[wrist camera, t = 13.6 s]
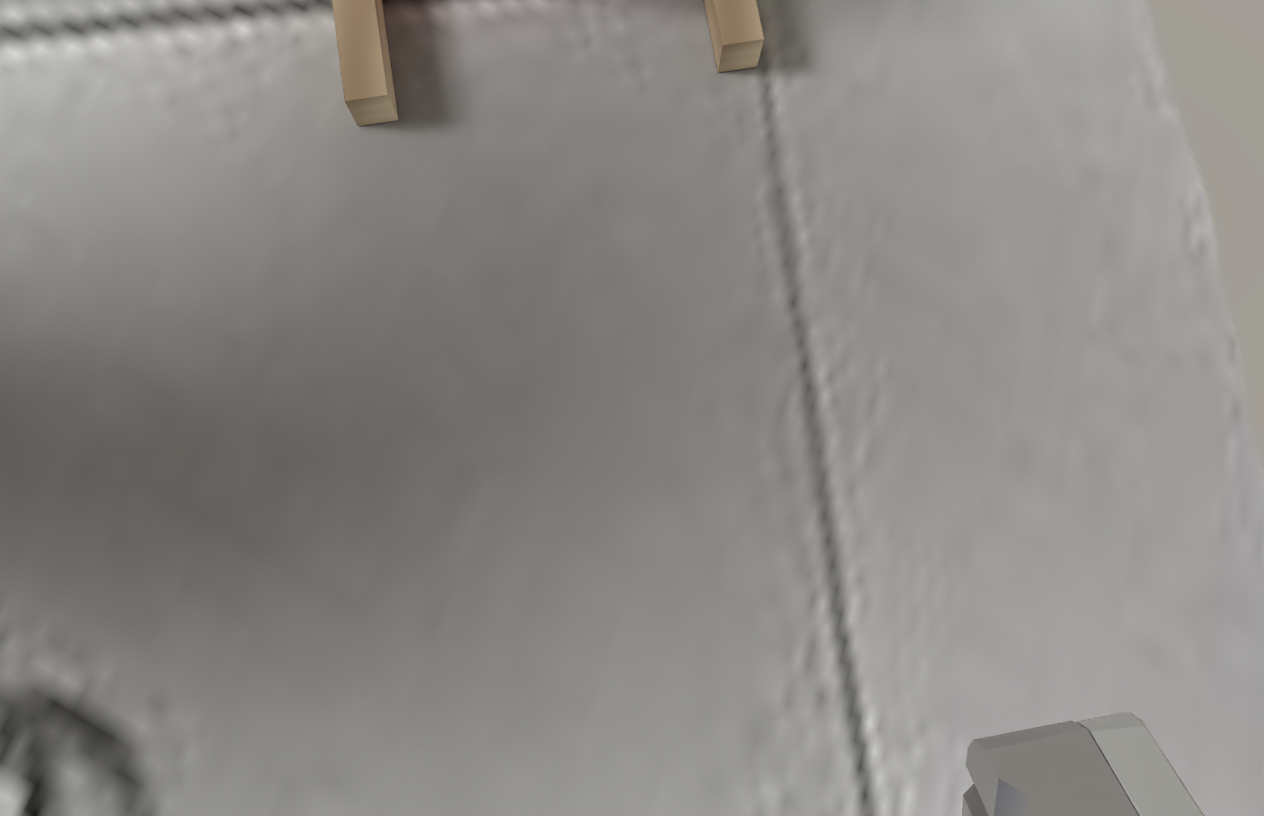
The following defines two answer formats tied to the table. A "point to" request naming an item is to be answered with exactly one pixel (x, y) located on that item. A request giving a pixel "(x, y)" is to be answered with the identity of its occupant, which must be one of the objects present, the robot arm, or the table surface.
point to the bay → (372, 73)
